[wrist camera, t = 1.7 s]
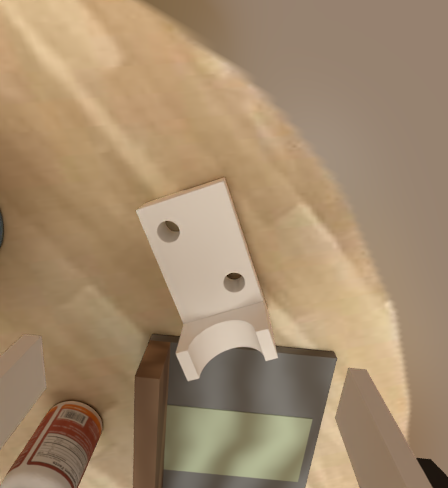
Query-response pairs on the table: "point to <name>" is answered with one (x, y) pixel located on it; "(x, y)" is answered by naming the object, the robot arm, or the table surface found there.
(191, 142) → the table surface
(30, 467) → the pill bottle
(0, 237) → the cocktail glass
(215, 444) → the tray
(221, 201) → the bracket
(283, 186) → the table surface
